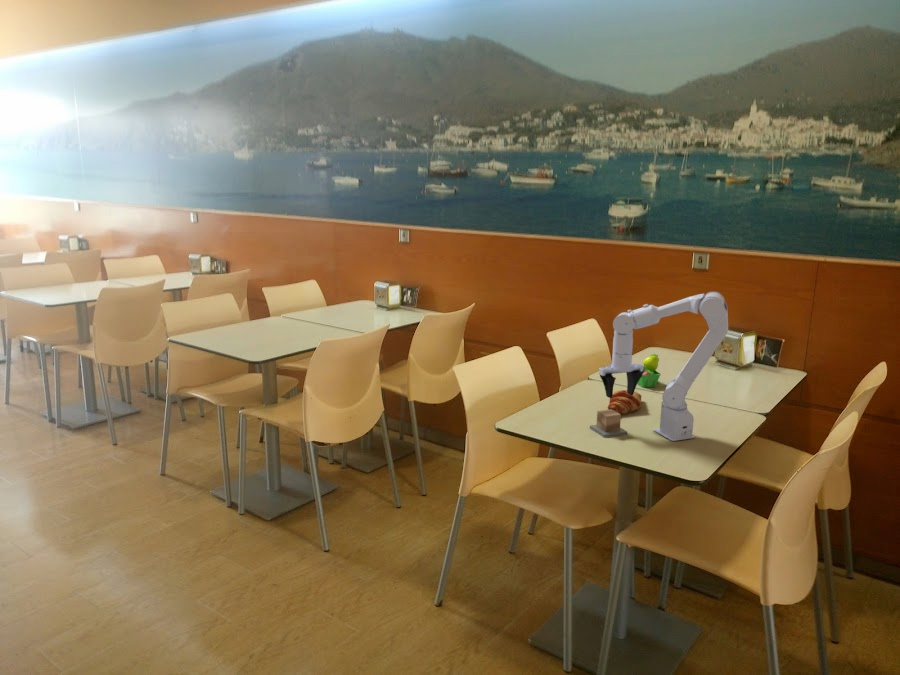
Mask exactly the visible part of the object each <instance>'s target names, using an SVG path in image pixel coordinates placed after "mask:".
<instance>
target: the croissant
mask: <svg viewBox="0 0 900 675" xmlns="http://www.w3.org/2000/svg"><path fill="white" fill-rule="evenodd" d="M641 406H642V394H641V393H639V392H637V391H634V393H633V395H630V394H628V393H627V389H619V390H616V391H613V395H612V398H609V403H608V406H607V410H609V409H612V410H614V411H616V412H617V413H619V414H621V415H626V414H629V413H633V412H634V411H637V410H638V409H640V408H641Z"/></svg>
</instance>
